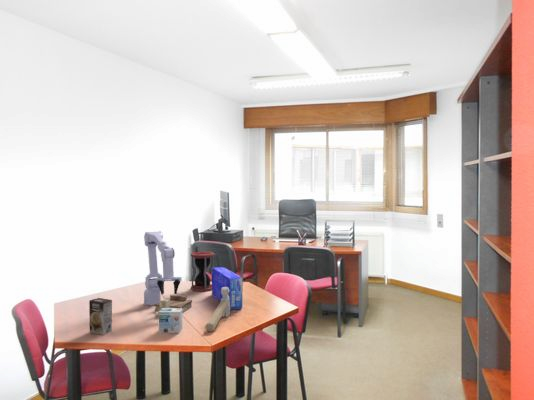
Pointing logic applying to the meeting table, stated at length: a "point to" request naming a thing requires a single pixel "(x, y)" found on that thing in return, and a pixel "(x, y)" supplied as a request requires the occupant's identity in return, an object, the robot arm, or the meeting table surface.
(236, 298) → the toner cartridge box
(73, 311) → the meeting table surface
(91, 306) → the coffee box
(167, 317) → the light bulb box
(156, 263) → the robot arm
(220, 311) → the hammer
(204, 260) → the hourglass
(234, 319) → the meeting table surface
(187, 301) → the lid
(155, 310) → the cream rectangular tray
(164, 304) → the cream rectangular block
